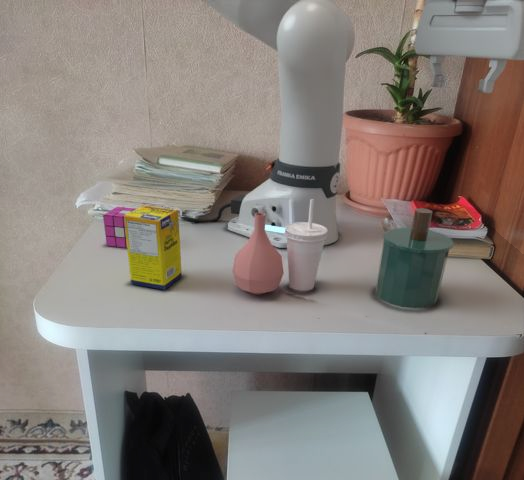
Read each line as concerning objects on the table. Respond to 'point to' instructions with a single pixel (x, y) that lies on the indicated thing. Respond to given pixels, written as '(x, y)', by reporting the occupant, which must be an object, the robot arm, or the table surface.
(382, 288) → the crock
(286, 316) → the table surface
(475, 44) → the robot arm
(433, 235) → the lid
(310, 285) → the smoothie
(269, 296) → the table surface
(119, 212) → the puzzle toy
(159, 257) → the supplement box
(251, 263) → the pink vase
